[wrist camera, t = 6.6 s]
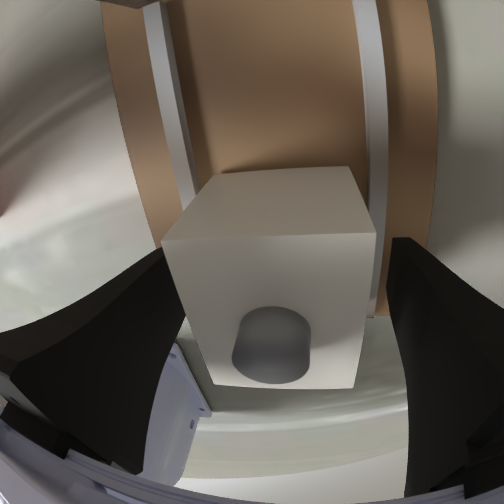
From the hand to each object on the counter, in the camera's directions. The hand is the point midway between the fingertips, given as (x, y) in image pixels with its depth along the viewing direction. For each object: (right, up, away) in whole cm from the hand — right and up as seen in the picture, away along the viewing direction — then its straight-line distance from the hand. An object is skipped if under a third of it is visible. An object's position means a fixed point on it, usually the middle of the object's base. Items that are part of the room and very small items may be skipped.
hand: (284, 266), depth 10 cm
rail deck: (0, +6, -1) cm, 6 cm away
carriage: (0, +1, +1) cm, 1 cm away
